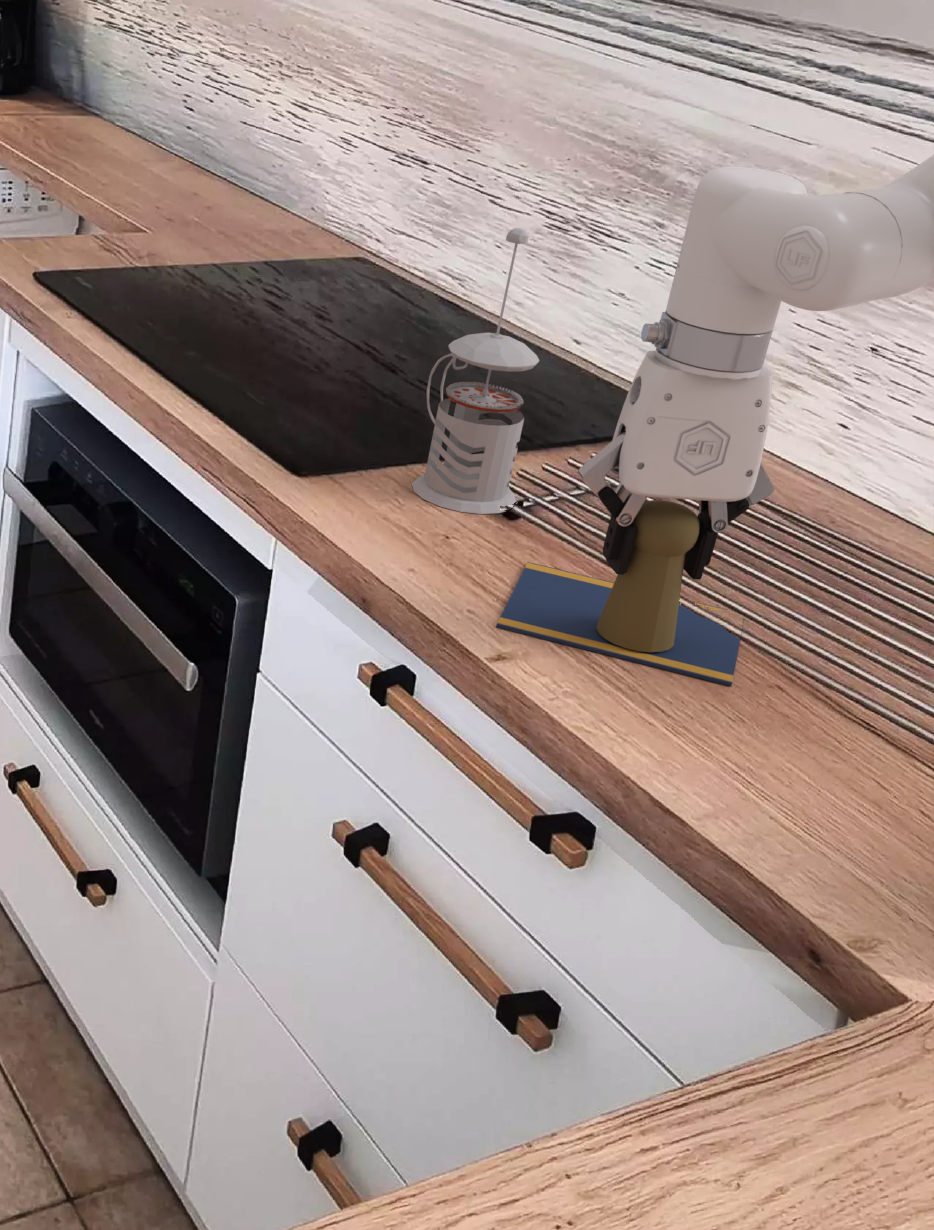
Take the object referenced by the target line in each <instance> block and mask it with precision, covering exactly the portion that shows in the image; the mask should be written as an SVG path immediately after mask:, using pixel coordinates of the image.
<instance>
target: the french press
mask: <svg viewBox="0 0 934 1230" xmlns="http://www.w3.org/2000/svg"><path fill="white" fill-rule="evenodd" d="M529 237H530V236H529V233H528V232H527V230H526V229H524V228H519V227H514V228H512V229H510V230H509V231H507V234H506V237H505V241H506V242H508V243H511V244H514V247H513V253H512V256H511V257H512V258H511V262H510V268H509V271H508V275H507V280H506V285H505V291H504V296H503V298H502V299H503V300H502V305H501V310H500V314H499V319H498V324H497V328H496V332H480V333H471V334H466V335H464V336H462V337H459V338H457V339H454V340H452V341H451V342H450V343H449V344H448V346H447V347H448V349H449V351H450V353H448V354H445V355H443V356H441V357H440V358H438V359H437V361H436V362H435V364H434V366H433V367H432V368H431V370H430V374H429V376H428V381H427V386H426V387H427V388H426V407H427V411H428V415H429V417H430V420H431V421H432V423H433V424H434V427H433V432H432V437H431V442H430V448H429V452H428V457H427V463H426V467H425V472H423V474H421V475H419V476H418V477H417V478H415V480H414V481H413V482H412V483H411V486H412V490H413V492H414V493H415V494H416V495H418V496H419V497H420V498H421V499H423V500H425V501H426V502H429V503H430V504H433V505H435V506H438V507H440V508H444V509H448V510H452V511H456V512H460V513H467V514H468V513H469V514H478V515H489V514H490V515H491V514H501V513H504V512H505V511H501V510H500V506H506V505H512V504H514V503H515V502H516V501H517V499H516V497H515V494H514V493H513V491H512V490H511V489H510V481H511V480H512V476H513V471H512V470H513V469H514V467H515V457H516V456H517V455H518V443H519V442H520V440H521V435H522V431H523V427H524V422H525V417H524V414H523V412H521V411H520V410H519V409H520V408H521V407H522V406H523V405H524V404H525V401H524V398H523V397H522V396H521V395H520V393H518V392H515V391H514V390H511V389H508V388H507V387H506V388H505V387H502V385H501V386H498V385H496V386H495V384H489V383H490V378H491V373H492V371H499V372H524V371H529V370H532V369H534V367H535V366H537V364H539V362H540V358H539V356H538V354H536V353H535V352H534V351H533V350H532V349H531V348H530V347H529V346H528V345H526V343H524V342H522V341H519V340H518V339H515V338H514V337H511V336H509V335H505V334H504V335H503V334H501V333H500V330H501V327H502V326H501V325H502V321H503V316H504V311H505V308H506V307H505V306H506V301H507V298H508V292H509V288H510V283H511V277H512V273H513V272H512V271H513V269H514V264H515V258H516V254H517V249H518V245H526V244H528V242H529ZM450 357H452V358H451V360H450V361H449V362H448V364H447V365H446V367H445V368H444V371H443V373H442V379H441V382H440V387H439V394H440V402H439V403H438V406H437V412H436V415H435V417H434V415H433V413H432V410H431V405H430V391H431V390H430V388H431V384H432V383H431V382H432V377H433V374H434V372H435V371H436V369H437V368H438V366H439V364H440V363H442V361H444V360H445V359H446V358H450ZM457 359H458V360H459V361H461V362H464V363H465V364H464V365H462V366H456V362H457ZM451 365H452V369H454V370H455V371H458V370H463V369H466V368H468V365H471V366H475V367H478V368H482V369H486V370H488V371H487V376H486V381H485V383H484V382H482V383H481V382H477V381H462V382H461V381H459V382H454V383H451V384H449V385H448V386H447V387H446V388H444V387H445V381H446V376H447V372H448V370H449V368H450V366H451ZM444 392H445V394H446V397H447V398H445V399H444ZM451 402H453V403H455V407H454V413H453V416H452V415H450V414H449V410H450V406H451ZM489 413H490V414H501V415H503V416H504V417H506V418H508V419H509V420H511V424H508V423H505V422H504V421H503V420H501V419H492V418H485V419H480V420H479V418H480V415H485V414H489ZM446 430H447V431H448V432H449V436H447V435H446V433H445V431H446ZM443 443H444V444H445V445H446V450H445V449H444V448H443ZM440 456H441V457H442V458H443V459H444V461H443V462H442V461H441V460H440Z"/></svg>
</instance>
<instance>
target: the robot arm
mask: <svg viewBox="0 0 934 1230" xmlns="http://www.w3.org/2000/svg"><path fill="white" fill-rule="evenodd" d="M689 211H690V212H689V216H688V219H687V224H686V227H685V231H684V237H683V240H682V243H681V246H680V251H679V256H678V259H677V264H676V267H675V270H674V276H673V279H672V283H671V288H670V292H669V296H668V300H667V303H666V308H665V311H662V313H661V316H660V320H659V321H655V322H654V323H647V322H645V323H644V324H643V326H642V328H641V333H640V334H641V335H640V337H641V341H642V342H644V343H651V344H652V345H654V346H653V347H655V350H648V351H647V352H646V354H645V355H644V357H643V359H642V361H641V364H640V366H639V368H638V369H637V371H636V373H635V375H634V378H633V380H632V382H631V385H630V386H629V390H628V392H627V395H626V397H625V400H624V403H623V405H622V408H621V411H620V414H619V417H618V420H617V424H616V427H615V430H614V433H613V437H612V440H611V441H610V442H609V443H608V444H607V445H605V446H604V447H603V448H601V450H600V451H598V452H597V453H595V455H593V456H592V457H590V459H589V460H587V462H586V463H584V464H582V465H581V466H580V467H579V468H578V470H577V475H578V477H579V478H580V479H581V481H582V482H583V483H584V484H585V486H586V487H588V488H589V490H590V491H591V492H592V493H593V494H594V495H595V496H596V497H597V498H598V499H599V501H600V502H601V503H602V505H603V506H604V507H605V509H606V510H607V511H608V513H609V514H610V518H609V522H608V526H607V530H606V534H605V537H604V542H603V546H602V555H603V557H604V558H605V561H606V563H607V564H608V565H609V566H610V568H611V569H612V570H613V572H614V573H615V575H618V574H620V575H624V574H625V573H627V570H628V566H629V562H630V559H631V555H632V551H633V547H634V543H635V539H636V536H637V528H636V527H635V525H634V524H633V522H634V519H635V517H636V515H637V514H638V512H639V510H640V509H641V507H642V505H643V504H644V502H646V501H647V499H648V497H649V498H660V499H673V500H674V499H675V500H690V501H698V514H697V515H696V516H697V517H698V520H699V535H698V538H697V541H696V543H695V544H694V546H693V547H692V548H691V549H690V550H689V551H687V552H686V553H685V560H684V568H683V571H684V572H685V573H686V574H687V575H688V577H689V578H691V579H692V580H697V581H698V580H701V579H702V577H703V574H704V570H705V567H706V566H709V565H710V563H711V559H712V556H713V553H714V549H715V545H716V542H717V538H718V535H719V533H720V534H721V533H723V532H724V531H726V530H727V529H728V526H729V525H728V524H730V523H731V522H732V521H734V520H735V519H737V518H738V517H740V516H741V515H743V514H744V513H746V512H747V511H748V510H749V508H750V507H751V506H755V505H757V504H758V503H760V502H761V501H762V500H764V499H766V498H767V497H770V496H771V495H772V494H773V493H774V492H775V486H774V484H773V482H772V480H771V479H770V477H769V475H768V473H767V472H766V470H765V468H764V466H763V464H762V458H763V454H764V449H765V444H766V440H767V439H766V438H767V433H768V427H769V421H770V412H771V405H772V393H773V371H772V370H771V369H769V368H768V367H766V366H765V365H764V363H765V359H766V357H767V352H768V349H769V345H770V343H771V338H772V335H773V331H774V328H775V324H776V320H777V318H778V314H779V310H780V307H781V304H782V302H783V303H785V304H787V305H789V306H792V307H794V308H797V309H801V310H804V311H810V312H828V311H833V310H838V309H839V310H840V309H844V308H848V307H853V306H858V305H861V304H863V303H868V302H872V301H879V300H885V299H890V298H894V297H898V296H901V295H905V294H908V293H911V292H912V291H915V290H917V289H919V288H922V287H923V286H925V285H927V284H929V283H931V282H934V154H932V155H931V156H929V157H928V158H927V159H925V160H924V161H922V162H921V163H919V164H917V165H916V166H915V167H913V168H912V169H910V170H909V171H906V173H904V174H902V175H900V176H899V177H898V178H896V179H895V180H893V181H891V182H889V183H888V184H886V185H884V186H882V187H877V188H868V189H862V190H860V189H859V190H853V191H847V192H842V193H832V194H830V193H829V194H818V195H812V194H808V190H807V188H806V185H804V183H803V182H801V181H800V180H799V179H796V178H795V177H793V176H791V175H788V174H785V173H782V172H778V171H775V170H769V169H764V168H758V167H750V166H735V165H734V166H733V165H730V166H720V167H716V168H713V169H711V170H709V171H707V172H706V173H705V174H704V175H703V176H702V177H701V179H700V180H699V182H698V184H697V186H696V189H695V193H694V196H693V200H692V203H691V207H690V210H689ZM610 472H612V473H614V474H616V475H617V476H618V478H619V483H618V485H617V487H616V489H615V490H614V488H613V487H612V485H610V483H608V481H607V480H606V476H607V475H608V473H610Z"/></svg>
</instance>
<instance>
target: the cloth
mask: <svg viewBox="0 0 934 1230" xmlns="http://www.w3.org/2000/svg"><path fill="white" fill-rule="evenodd" d="M614 582H615V581H609V580H606V579H601V578H597V577H592V576H589V575H585V574H580V573H577V572H576V573H575V572H572V571H568V570H563V569H559V568H555V567H550V566H546V565H542V564H538V563H535V562H534V563H533V562H529V561H527V562H526V565H525V567H524V568H523V570H522V572H521V574H520V577H519V579H518V581H517V582H516V585H515V586H514V588H513V590H512V593H511V595H510V597H509V599H508V601H507V603H506V605H505V606H504V609H503V611H502V613H501V615H500V617H499V618H498V621H497V623H496V625H495V627H496V628H497V629H501V630H506V631H511V632H514V633H518V634H522V635H525V636H529V637H534V638H538V639H542V640H546V641H549V642H552V643H553V642H554V643H558V644H562V645H566V646H569V647H574V648H577V649H581V650H586V651H590V652H593V653H598V654H601V655H604V656H610V657H613V658H617V659H621V660H625V661H629V662H634V663H638V664H640V665H644V666H649V667H653V668H657V669H660V670H665V671H667V672H668V671H669V672H673V673H676V674H680V675H685V676H688V677H693V678H696V679H699V680H705V681H708V682H711V683H716V684H720V685H725V686H728V687H732V685H733V681H734V675H735V669H736V665H737V660H738V655H739V648H740V643H741V639H740V638H737V637H736V636H735V635H733V634H731V633H729V632H728V631H726V630H725V629H724V628H723V627H722V626H720V625H718V624H716V623H715V622H713V621H710V620H708V619H707V618H703V617H701V616H699V615H697V614H695V613H694V612H692V611H691V610H690V609H687V608H686V607H684V606H682V605H681V603H680V604H679V608H678V615H677V623H676V631H675V639H674V646H673V647H671V648H670V649H669V650H665V651H662V652H642V651H636V650H631V649H627V648H624V647H621V646H618V645H615V644H613V643H612V642H610V641H608V640H606V639H605V638H603V637H602V636H601V635H600V634H599V633H598V631H597V629H596V627H597V623H598V621H599V618H600V616H601V614H602V611H603V609H604V606H605V604H606V601H607V599H608V597H609V594H610V592H611V589H612V587H613V585H614ZM690 601H691V602H695V601H694V600H690ZM696 602H697V601H696ZM695 605H696V603H695ZM697 605H702V607H704V605H705V607H709V609H710V607H711V610H712V608H713V610H726V611H727V610H729V611H730V610H731V609H727V608H722V607H719V606H714V605H710V604H706V603H701V602H697ZM707 605H708V606H707ZM714 608H715V609H714ZM732 611H733V612H732ZM734 611H735V610H731V611H730V613H735V612H734Z"/></svg>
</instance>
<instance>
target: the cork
mask: <svg viewBox="0 0 934 1230" xmlns="http://www.w3.org/2000/svg"><path fill="white" fill-rule="evenodd" d="M697 516H698V515H697V514H696V513H695V511H693V510H692V509H690V508H689V507H687V506H685V505H683V504H681V503H677V502H675V501H669V500H662V499H652V500H646V501H645V502H644V504H643V505H642V507H641V509H640V510H639V512H638V514H637V515H636V517H635V519H634V522H633V524H634V525H635V527H636V528H637V536H636V539H635V543H634V547H633V551H632V555H631V559H630V562H629V566H628V570H627V573H625V574H624V575H620V574H616V578H615V580H614V581H613V582H614V585H613V587H612V589H611V592H610V594H609V597H608V599H607V601H606V604H605V606H604V609H603V611H602V614H601V616H600V618H599V621H598V623H597V627H596V629H597V631H598V633H599V634H600V635H601V636H602V637H603V638H605V639H606V640H608V641H610V642H612V643H613V644H615V645H618V646H621V647H624V648H627V649H631V650H636V651H642V652H662V651H665V650H669V649H670V648H671V647H673V646H674V639H675V631H676V623H677V615H678V608H679V600H680V598H681V593H682V592H681V591H682V584H683V583H682V582H683V575H684V569H683V568H684V560H685V553H686V552H687V551H689V550H690V549H691V548H692V547H693V546H694V544H695V543H696V541H697V538H698V535H699V520H698V517H697Z"/></svg>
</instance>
